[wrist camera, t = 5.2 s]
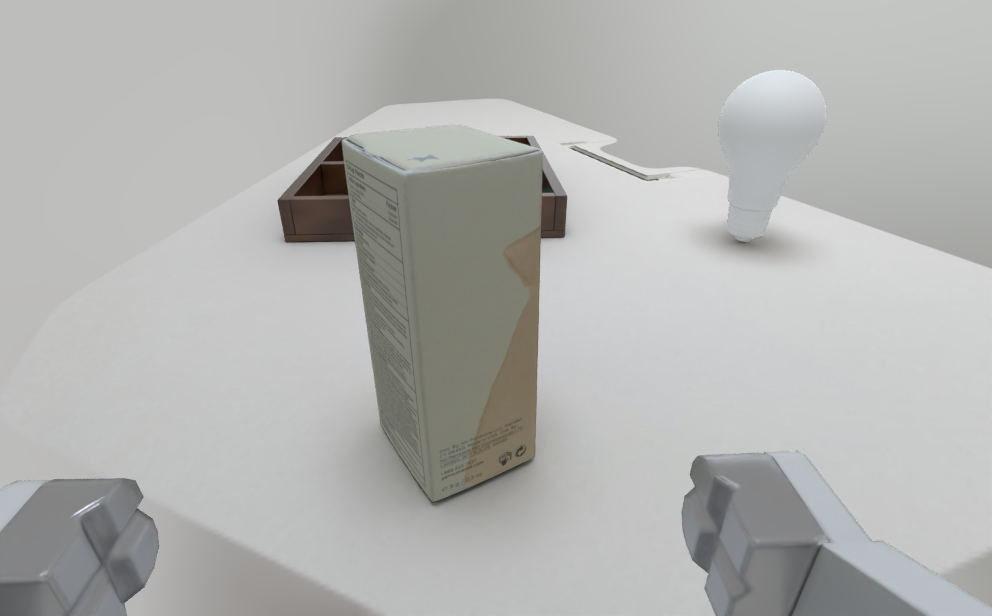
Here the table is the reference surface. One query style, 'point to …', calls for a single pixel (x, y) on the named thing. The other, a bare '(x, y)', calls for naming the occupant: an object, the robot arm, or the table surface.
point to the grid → (326, 207)
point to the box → (450, 295)
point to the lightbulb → (766, 143)
